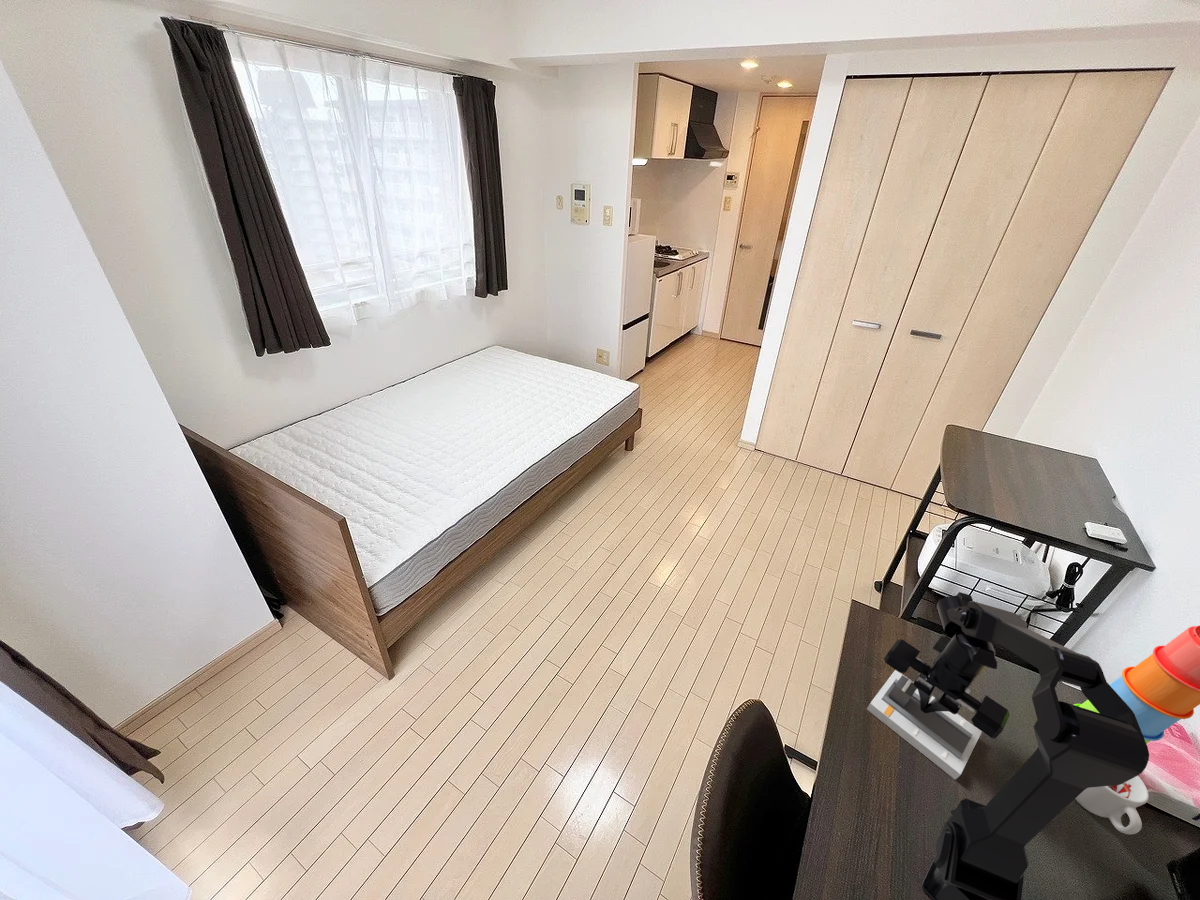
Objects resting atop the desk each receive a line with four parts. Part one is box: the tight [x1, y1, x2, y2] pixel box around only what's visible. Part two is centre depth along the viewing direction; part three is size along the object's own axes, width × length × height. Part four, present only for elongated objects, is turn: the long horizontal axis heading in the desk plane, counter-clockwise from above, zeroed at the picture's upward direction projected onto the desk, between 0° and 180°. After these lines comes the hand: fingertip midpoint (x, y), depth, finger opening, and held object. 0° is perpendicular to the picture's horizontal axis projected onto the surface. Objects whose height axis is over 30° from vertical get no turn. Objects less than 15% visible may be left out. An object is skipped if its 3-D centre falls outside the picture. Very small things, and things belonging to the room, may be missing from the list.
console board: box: [866, 669, 982, 781], centre depth 93 cm, size 12×16×2 cm
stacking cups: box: [1073, 625, 1200, 744], centre depth 82 cm, size 10×10×35 cm
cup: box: [1074, 775, 1150, 835], centre depth 81 cm, size 11×8×8 cm
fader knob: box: [888, 674, 917, 707], centre depth 94 cm, size 4×3×4 cm
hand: (923, 710), depth 92 cm, fingers closed
